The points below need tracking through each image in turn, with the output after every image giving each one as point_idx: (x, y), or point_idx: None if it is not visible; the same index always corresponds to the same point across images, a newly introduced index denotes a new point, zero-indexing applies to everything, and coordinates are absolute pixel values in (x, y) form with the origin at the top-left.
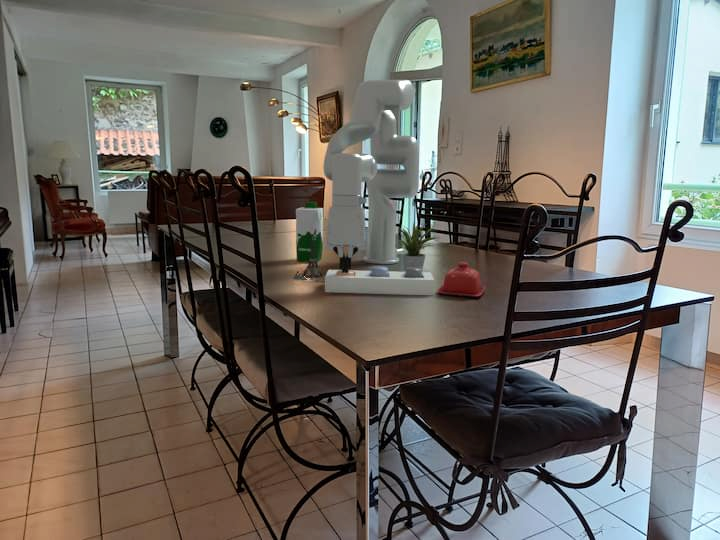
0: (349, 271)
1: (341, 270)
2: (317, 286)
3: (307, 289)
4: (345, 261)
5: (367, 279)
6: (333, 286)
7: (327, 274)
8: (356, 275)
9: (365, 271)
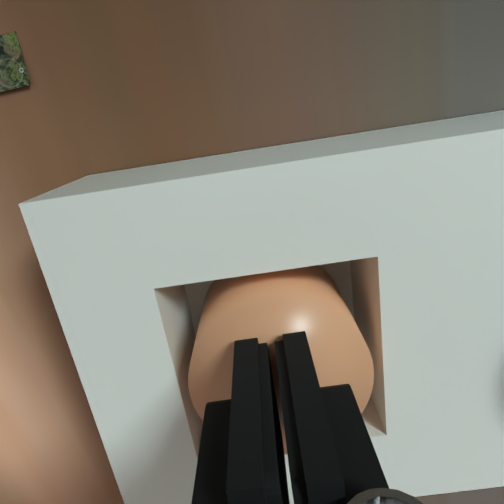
0: (322, 372)
1: (221, 346)
2: (41, 287)
3: (18, 388)
4: (274, 425)
5: (498, 475)
6: None
7: (114, 442)
8: (399, 414)
9: (496, 185)
